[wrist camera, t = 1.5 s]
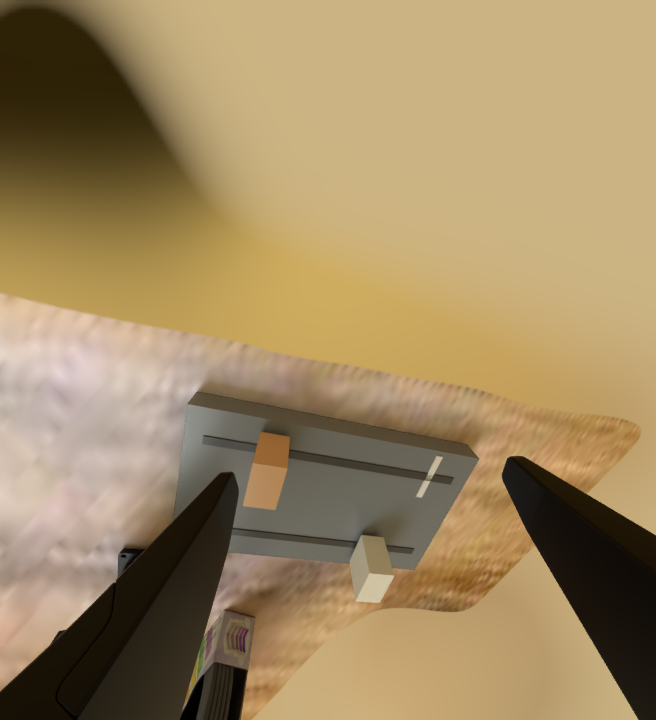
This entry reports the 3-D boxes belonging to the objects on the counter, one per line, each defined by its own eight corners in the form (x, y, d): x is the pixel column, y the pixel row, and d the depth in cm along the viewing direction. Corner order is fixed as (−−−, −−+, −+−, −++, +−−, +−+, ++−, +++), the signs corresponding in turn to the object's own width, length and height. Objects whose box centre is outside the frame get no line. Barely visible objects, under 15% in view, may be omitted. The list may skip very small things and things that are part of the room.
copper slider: (279, 474, 23) (275, 510, 20) (251, 470, 23) (242, 506, 19) (289, 436, 22) (287, 468, 18) (260, 431, 21) (252, 463, 18)
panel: (408, 551, 32) (414, 571, 30) (179, 526, 27) (169, 547, 25) (467, 444, 27) (480, 459, 25) (197, 391, 22) (186, 404, 20)
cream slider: (370, 563, 28) (379, 602, 25) (349, 561, 28) (355, 601, 25) (383, 537, 27) (394, 575, 24) (361, 534, 27) (369, 573, 23)
